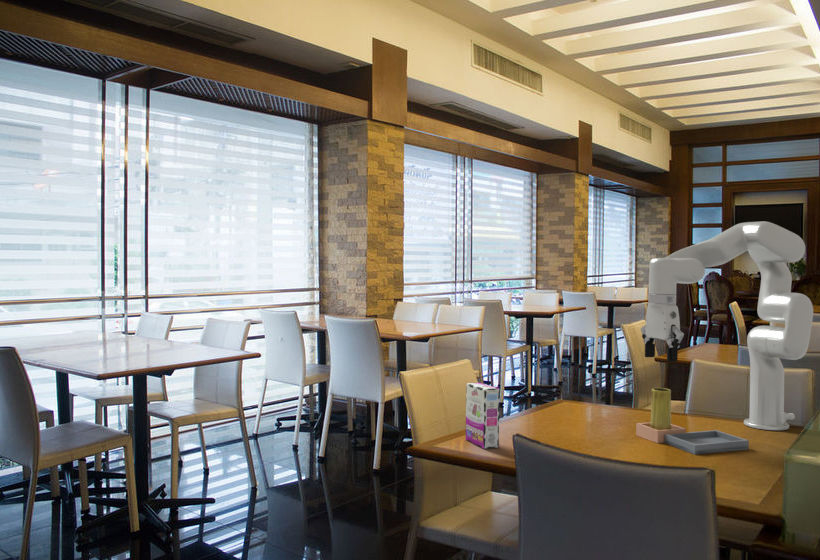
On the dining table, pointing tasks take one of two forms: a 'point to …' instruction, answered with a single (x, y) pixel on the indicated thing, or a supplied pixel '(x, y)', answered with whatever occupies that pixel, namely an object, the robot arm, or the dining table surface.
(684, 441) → the tray
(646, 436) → the holder
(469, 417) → the candy bar box
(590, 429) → the dining table surface
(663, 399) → the vase
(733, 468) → the dining table surface
